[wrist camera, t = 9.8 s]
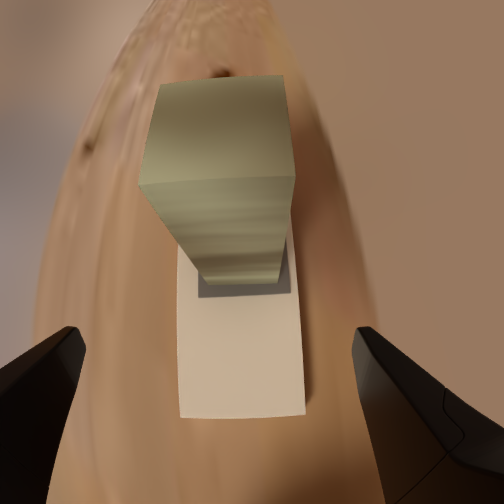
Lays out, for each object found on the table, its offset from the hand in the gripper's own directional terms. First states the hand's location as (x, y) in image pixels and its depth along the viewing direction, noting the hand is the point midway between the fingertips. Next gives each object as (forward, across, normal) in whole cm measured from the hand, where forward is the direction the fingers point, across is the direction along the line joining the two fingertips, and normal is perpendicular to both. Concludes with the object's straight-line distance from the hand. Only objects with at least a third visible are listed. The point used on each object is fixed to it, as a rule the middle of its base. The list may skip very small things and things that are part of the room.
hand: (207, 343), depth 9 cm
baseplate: (+11, 0, +6) cm, 12 cm away
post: (+12, 0, +3) cm, 12 cm away
